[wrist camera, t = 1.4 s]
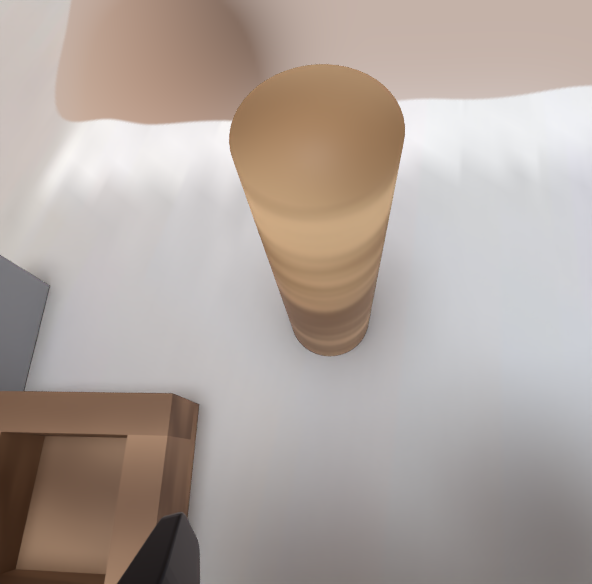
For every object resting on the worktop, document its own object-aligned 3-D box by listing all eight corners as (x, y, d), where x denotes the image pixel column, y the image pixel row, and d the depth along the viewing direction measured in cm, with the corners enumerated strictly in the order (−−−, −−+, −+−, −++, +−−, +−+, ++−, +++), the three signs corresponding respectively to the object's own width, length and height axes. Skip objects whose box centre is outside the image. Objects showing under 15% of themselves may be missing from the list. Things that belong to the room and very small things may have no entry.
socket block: (178, 618, 19) (139, 655, 15) (-14, 605, 20) (-95, 638, 16) (200, 405, 22) (172, 393, 19) (33, 402, 23) (-25, 390, 20)
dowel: (369, 356, 22) (410, 202, 9) (290, 355, 23) (222, 207, 10) (367, 282, 24) (399, 59, 11) (292, 283, 24) (236, 69, 11)
